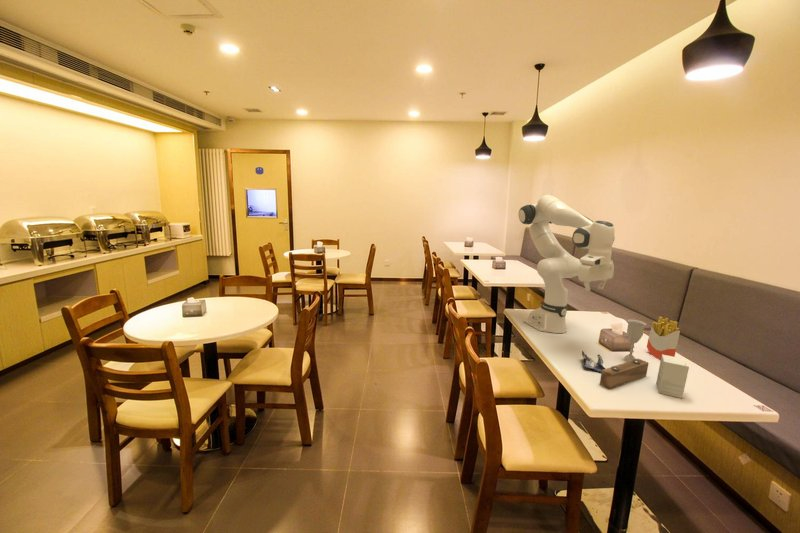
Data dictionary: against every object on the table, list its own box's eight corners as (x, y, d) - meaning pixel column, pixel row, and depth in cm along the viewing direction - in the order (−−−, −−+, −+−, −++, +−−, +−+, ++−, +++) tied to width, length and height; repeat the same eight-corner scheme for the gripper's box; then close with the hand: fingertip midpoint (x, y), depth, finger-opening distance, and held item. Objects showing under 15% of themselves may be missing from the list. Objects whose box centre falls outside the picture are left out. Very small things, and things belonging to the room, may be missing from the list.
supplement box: (679, 389, 134) (686, 358, 131) (682, 399, 127) (689, 366, 125) (655, 383, 137) (661, 353, 135) (657, 392, 131) (664, 361, 128)
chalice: (641, 365, 152) (649, 326, 148) (624, 363, 153) (631, 324, 149) (634, 358, 159) (641, 320, 155) (617, 356, 160) (624, 318, 156)
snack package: (612, 367, 150) (583, 357, 158) (614, 354, 148) (584, 344, 156) (602, 381, 142) (572, 369, 150) (604, 368, 140) (574, 356, 148)
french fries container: (663, 362, 156) (671, 323, 152) (644, 351, 166) (652, 315, 163) (673, 362, 156) (681, 324, 153) (654, 351, 167) (661, 315, 163)
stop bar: (599, 384, 135) (602, 368, 134) (635, 371, 146) (638, 356, 145) (609, 389, 132) (612, 372, 130) (646, 376, 143) (649, 360, 141)
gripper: (605, 256, 161) (601, 286, 163) (577, 258, 151) (573, 290, 153) (620, 259, 155) (615, 289, 158) (591, 261, 145) (586, 294, 148)
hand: (594, 290), depth 156 cm, fingers open, 8 cm apart
